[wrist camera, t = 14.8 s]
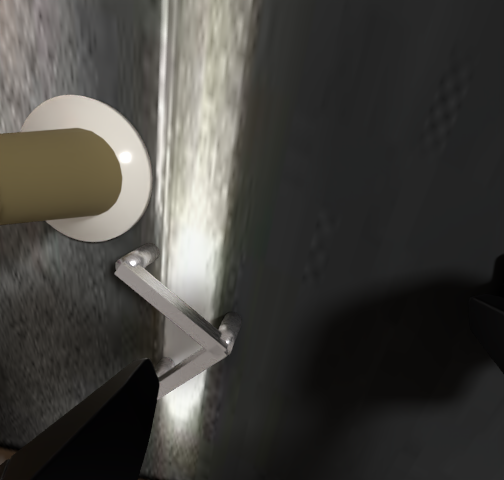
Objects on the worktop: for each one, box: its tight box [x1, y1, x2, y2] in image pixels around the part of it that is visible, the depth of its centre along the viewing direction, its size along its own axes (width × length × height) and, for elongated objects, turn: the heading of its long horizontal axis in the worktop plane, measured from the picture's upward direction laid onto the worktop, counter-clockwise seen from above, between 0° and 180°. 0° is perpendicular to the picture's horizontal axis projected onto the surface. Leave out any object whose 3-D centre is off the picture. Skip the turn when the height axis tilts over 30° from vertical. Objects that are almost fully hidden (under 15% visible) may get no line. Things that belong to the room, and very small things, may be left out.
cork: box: [0, 128, 122, 225], centre depth 16 cm, size 6×6×11 cm
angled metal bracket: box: [114, 243, 242, 400], centre depth 22 cm, size 7×11×4 cm, turn 3°
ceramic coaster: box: [21, 95, 153, 242], centre depth 21 cm, size 10×10×1 cm
